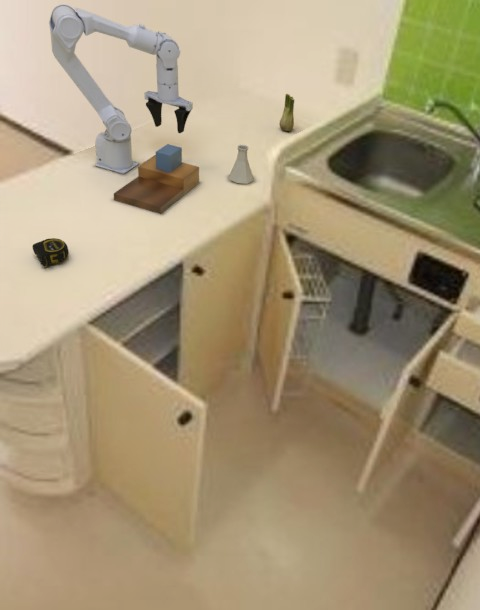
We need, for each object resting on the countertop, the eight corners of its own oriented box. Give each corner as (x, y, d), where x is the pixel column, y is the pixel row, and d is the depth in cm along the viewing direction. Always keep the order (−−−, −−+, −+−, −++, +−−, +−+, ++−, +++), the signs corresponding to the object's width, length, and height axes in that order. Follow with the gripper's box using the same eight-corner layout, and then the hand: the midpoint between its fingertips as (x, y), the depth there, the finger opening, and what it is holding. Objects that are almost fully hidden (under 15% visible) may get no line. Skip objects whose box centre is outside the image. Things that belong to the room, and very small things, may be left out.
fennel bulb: (292, 133, 220) (296, 99, 213) (278, 131, 220) (281, 97, 213) (293, 127, 225) (297, 93, 218) (279, 125, 225) (282, 91, 217)
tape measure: (33, 254, 145) (30, 240, 143) (63, 248, 149) (61, 234, 147) (41, 270, 141) (39, 256, 139) (73, 263, 145) (71, 249, 142)
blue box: (156, 168, 176) (155, 151, 173) (167, 160, 181) (167, 143, 178) (170, 172, 175) (170, 155, 172) (181, 164, 180) (181, 147, 177)
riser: (113, 200, 169) (112, 182, 167) (155, 170, 186) (155, 154, 183) (161, 213, 167) (160, 196, 164) (199, 182, 183) (199, 166, 180)
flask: (249, 186, 185) (251, 154, 179) (225, 181, 186) (226, 149, 180) (256, 176, 191) (258, 144, 185) (233, 171, 192) (234, 139, 186)
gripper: (198, 83, 178) (198, 130, 186) (153, 72, 182) (156, 118, 190) (184, 90, 173) (185, 138, 181) (138, 78, 177) (142, 126, 185)
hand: (169, 128), depth 185 cm, fingers open, 7 cm apart
